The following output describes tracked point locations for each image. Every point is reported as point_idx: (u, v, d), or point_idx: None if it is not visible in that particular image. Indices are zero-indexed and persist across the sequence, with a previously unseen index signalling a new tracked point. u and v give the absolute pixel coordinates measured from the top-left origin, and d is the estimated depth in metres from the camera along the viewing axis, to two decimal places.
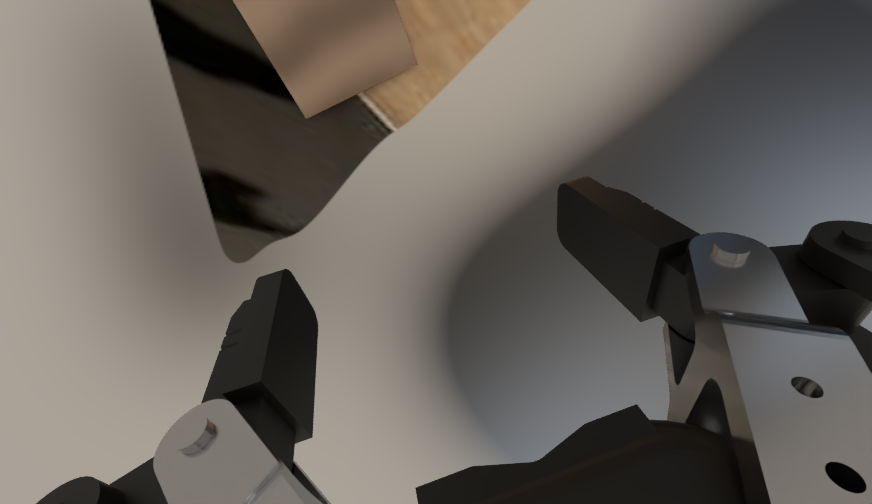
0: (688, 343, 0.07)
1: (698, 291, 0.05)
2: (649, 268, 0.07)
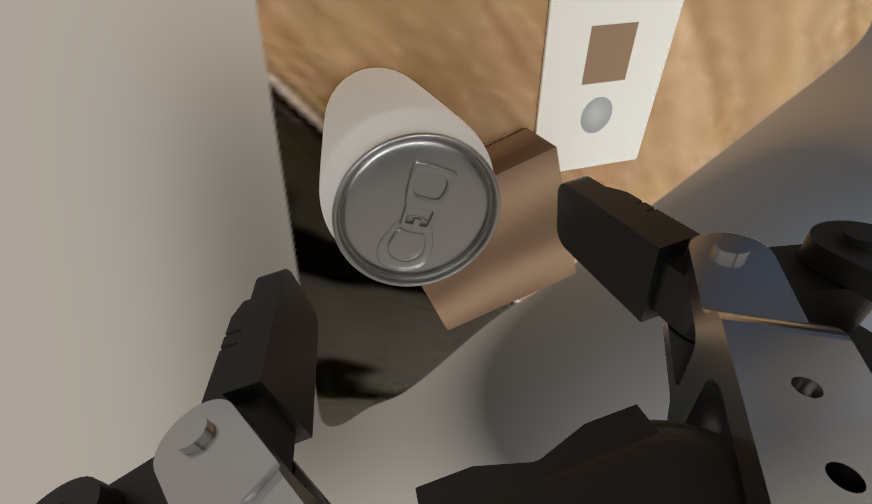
0: (688, 343, 0.07)
1: (698, 291, 0.05)
2: (649, 268, 0.07)
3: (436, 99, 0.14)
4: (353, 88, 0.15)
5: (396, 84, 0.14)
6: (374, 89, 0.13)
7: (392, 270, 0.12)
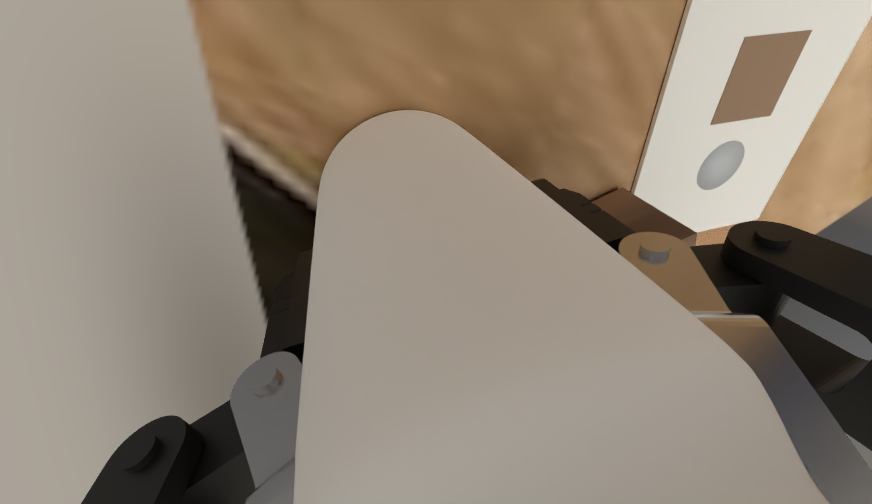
0: None
1: None
2: None
3: (563, 209, 0.06)
4: (373, 171, 0.07)
5: (473, 176, 0.06)
6: (429, 197, 0.05)
7: None
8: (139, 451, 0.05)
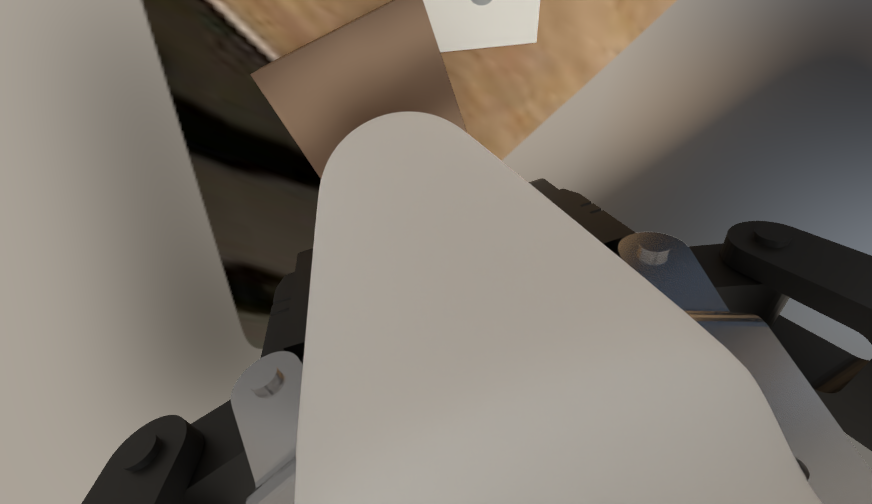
0: None
1: None
2: None
3: (562, 211, 0.06)
4: (373, 173, 0.07)
5: (472, 178, 0.06)
6: (429, 200, 0.06)
7: None
8: (139, 451, 0.05)
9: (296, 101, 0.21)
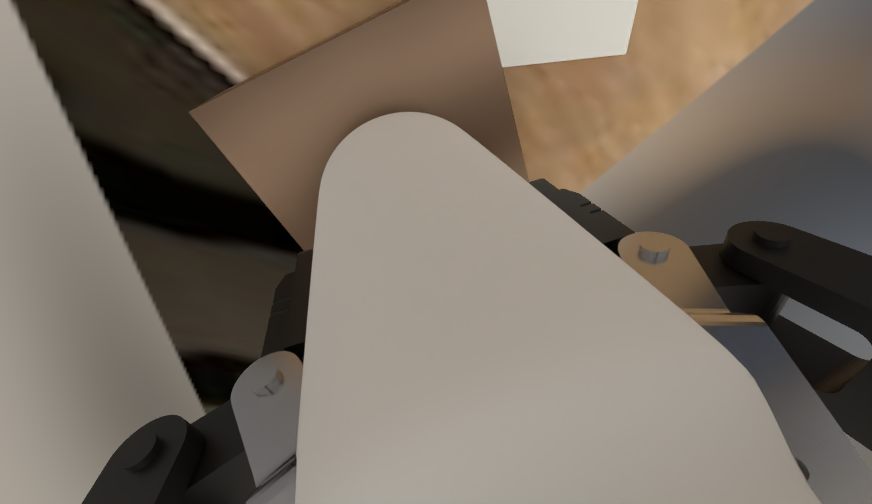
0: None
1: None
2: None
3: (562, 211, 0.06)
4: (373, 173, 0.07)
5: (472, 178, 0.06)
6: (429, 200, 0.06)
7: None
8: (139, 451, 0.05)
9: (270, 152, 0.13)
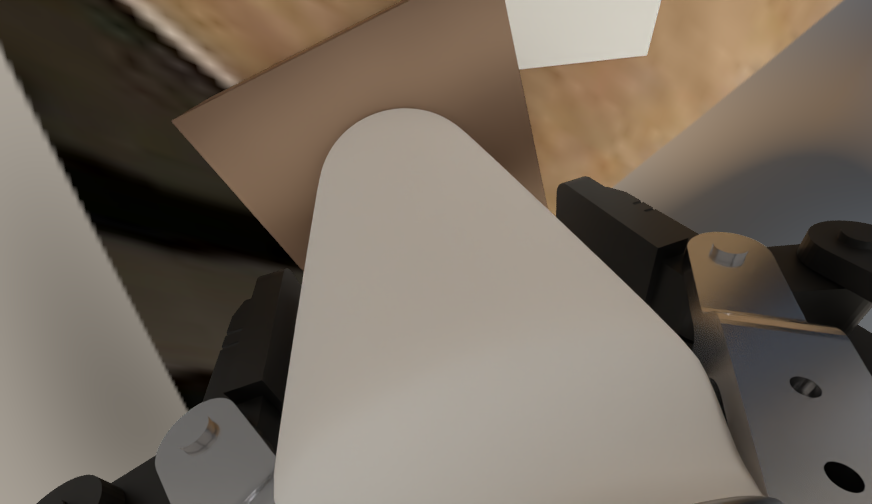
0: (686, 343, 0.07)
1: (696, 291, 0.05)
2: (648, 268, 0.07)
3: (538, 204, 0.06)
4: (363, 168, 0.08)
5: (453, 173, 0.06)
6: (409, 193, 0.06)
7: None
8: None
9: (263, 165, 0.12)
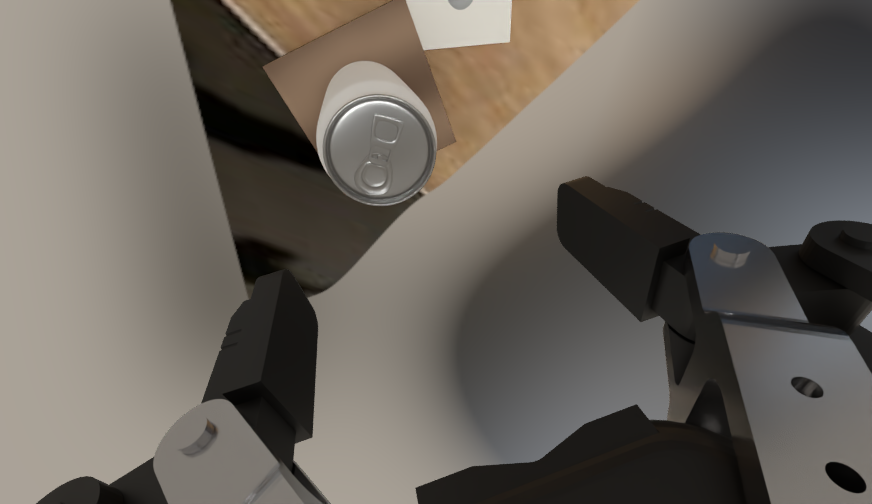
0: (688, 343, 0.07)
1: (698, 291, 0.05)
2: (649, 268, 0.07)
3: (398, 79, 0.19)
4: (342, 74, 0.21)
5: (370, 69, 0.19)
6: (354, 73, 0.19)
7: (366, 194, 0.18)
8: None
9: (300, 90, 0.25)
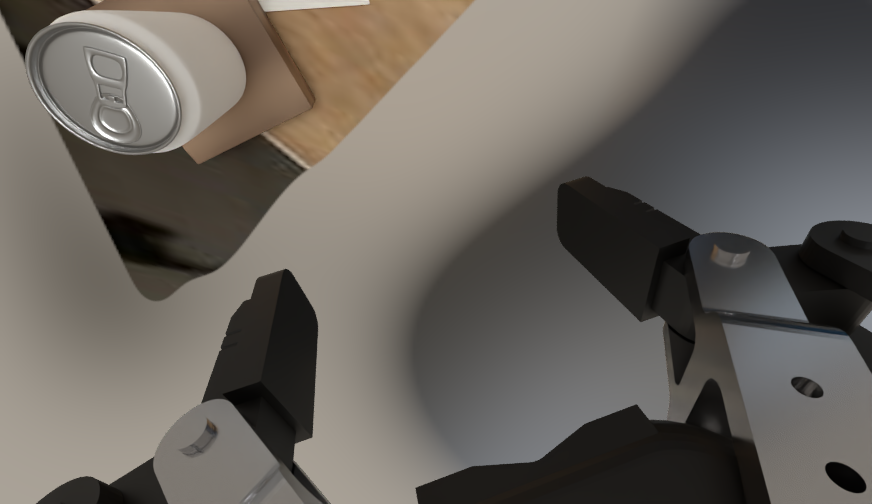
0: (688, 343, 0.07)
1: (698, 291, 0.05)
2: (649, 268, 0.07)
3: (164, 20, 0.18)
4: None
5: None
6: None
7: (114, 142, 0.17)
8: None
9: None
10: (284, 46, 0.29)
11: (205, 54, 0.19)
